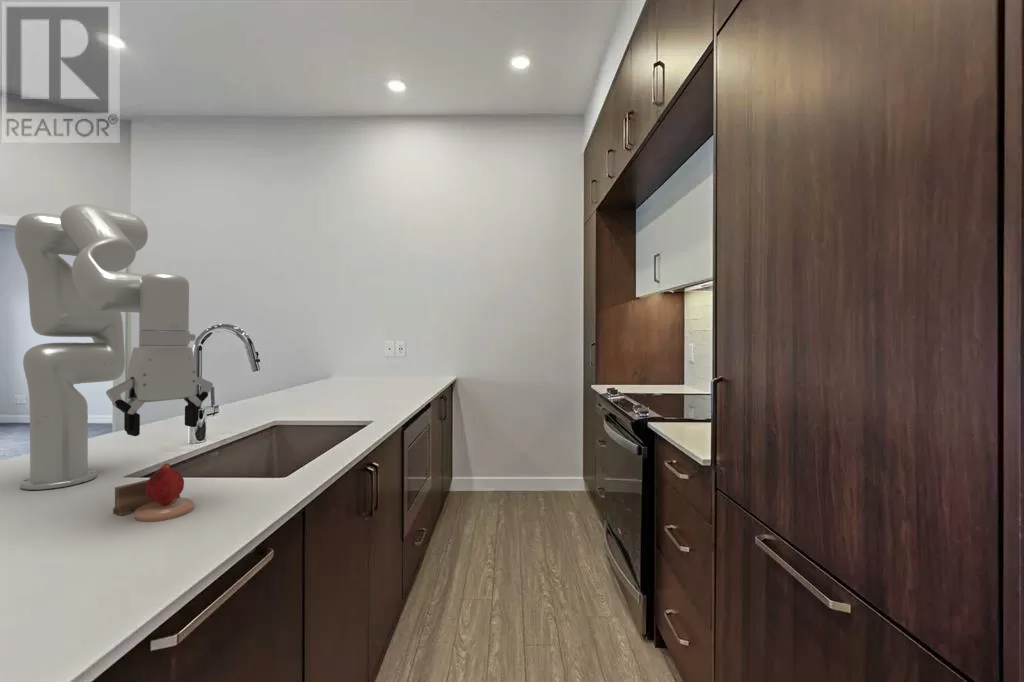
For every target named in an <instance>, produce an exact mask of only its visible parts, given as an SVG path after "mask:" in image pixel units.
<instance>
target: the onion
mask: <svg viewBox="0 0 1024 682" xmlns="http://www.w3.org/2000/svg"><path fill="white" fill-rule="evenodd" d="M170 466H171V463H169V462H165V463H163V464H162V466H161V467H160V468H159V469H158V470H157V471H154V473H152V475H151V476H150V477H149V479H147V480H148V482H147V485H146V494H147V496H148V497H149V498H150V499H151V500H152V501H154V502H156V503H158V504H161V505H164V506H165V505H169V504H170V503H171V502H172V501H173V500H174V499H175V498H176V497H178V496H179V495H180V496H181V494H182V492H183V490H184V487H185V479H184V476H183V475H182V474H181V473H180V472H179V471H177V470H176V469H174V468H172V467H170Z"/></svg>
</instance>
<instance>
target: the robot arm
mask: <svg viewBox="0 0 1024 682" xmlns="http://www.w3.org/2000/svg"><path fill="white" fill-rule="evenodd" d="M14 229H15V230H14V242H15V243H14V245H15V248H16V251H17V254H18V257H19V258H20V261H21V263H22V265H23V267H24V270H25V272H26V276H27V288H28V304H29V317H30V323H31V325H30V326H31V327H32V329H33V331H34V332H35V333H36V334H38V335H40V336H45V337H51V338H52V337H54V338H55V337H56V338H59V337H60V338H68V337H69V338H91V339H92V340H93V342H48V343H41V344H37V345H35V346H31V347H30V348H29V349H28V350H26V352H25V353H24V356H23V361H22V362H23V363H22V365H23V372H24V375H25V378H26V383H27V389H28V398H29V399H28V400H29V466H30V467H29V468H30V469H29V471H30V473H29V476H30V477H27V478H24V479H22V480H21V481H20V483H19V488H21V489H22V490H27V491H28V490H29V491H37V490H39V491H41V490H51V489H58V488H63V487H68V486H69V487H70V486H74V485H79V484H82V482H83V483H85V482H88V481H91V480H94V479H95V478H96V477H97V476H98V472H97V471H96V470H95V469H92V468H91V469H89V467H88V466H89V459H88V458H89V457H88V456H89V455H88V453H89V451H88V450H89V445H88V443H89V437H88V436H89V435H88V434H89V433H88V432H89V431H88V430H89V429H88V428H89V424H88V422H89V421H88V418H89V417H88V411H89V410H88V402H87V401H88V400H87V399H86V397H85V396H84V395H83V394H82V393H81V392H80V391H78V389H77V388H76V387H75V385H80V384H87V383H88V384H90V383H102V382H103V383H104V382H112V381H115V380H117V379H119V378H121V377H122V374H123V373H124V371H125V367H126V366H125V364H126V355H125V353H126V352H125V339H124V325H123V323H124V322H123V316H122V313H139V314H138V315H139V319H138V320H139V321H138V324H139V326H138V327H139V328H138V329H139V330H138V340H139V341H138V347H137V346H136V347H132V350H131V355H130V359H129V364H128V369H127V379H126V380H124V381H123V382H121V383H119V384H117V385H116V386H113V387H111V388H108V389H107V390H106V391H105V394H106V396H107V398H108V399H109V400H110V402H111V404H112V405H113V406H114V407H115V408H117V409H118V410H119V411H121V413H123V414H124V417H123V419H124V423H123V425H124V426H123V427H124V428H123V429H124V432H126V434H127V435H129V436H131V437H138V436H139V435H140V434H141V433H140V432H141V430H140V429H141V423H140V422H141V415H140V414H139V413H138V411H139V410H140V409H141V408H142V406H143V405H144V404H145V403H154V402H155V403H156V402H164V401H172V400H173V401H174V400H184V401H185V402H186V403H187V404H186V405H185V406H184V425H185V426H186V427H191V428H196V427H197V426H198V422H199V418H200V417H199V416H200V415H199V411H200V410H199V407H201V406H202V404H203V402H204V401H205V400H206V399H207V398H208V396H209V393H210V392H211V390H212V389H213V386H214V383H213V382H211V381H209V380H206V379H204V378H203V377H202V378H201V377H199V376H197V367H196V360H195V355H194V352H193V348H192V347H191V346H189V345H190V342H194V341H196V334H193V333H190V332H191V331H190V330H189V329H190V328H189V326H190V325H189V323H190V318H189V315H190V282H189V281H188V279H187V278H186V277H184V276H182V275H176V274H168V273H147V274H143V273H136V272H135V273H134V272H123V271H122V270H125V269H126V268H128V267H130V266H131V264H133V262H134V261H135V259H136V255H137V252H138V251H141V250H142V249H143V248H144V247H145V246H146V243H148V238H149V233H148V232H149V231H148V228H147V225H146V224H145V222H144V220H143V219H142V218H140V217H139V216H138V215H135V214H134V213H131V212H126V211H122V210H118V209H112V208H108V207H107V208H106V207H103V206H97V205H91V204H73V205H71V206H68V207H66V208H65V209H63V211H62V212H61V213H60V215H58V214H50V213H49V214H48V213H27V214H24V215H23V216H21V217H19V219H18V221H17V222H16V224H15V228H14ZM61 255H64V256H65V255H66V256H74V257H75V258H74V260H73V262H72V265H71V264H69V262H68V261H66V260H65V259H64V258H63V257H61ZM197 385H198V386H200V390H199V391H198V392H197ZM124 392H126V398H127V399H128V401H125V400H124V399H123V398H122V396H121V394H122V393H124Z"/></svg>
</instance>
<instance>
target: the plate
mask: <svg viewBox="0 0 1024 682" xmlns="http://www.w3.org/2000/svg"><path fill="white" fill-rule="evenodd" d="M194 509H195V501H194V499H192V498H187V497H180V498H175V499H174V500H173V501H172V502H171V503H170V504H169V505H165V506H164V505H161V504H158V503H156V502H151V503H148V504H145V505H143V506H141V507H139V508H137V509H136V510H135V511H134V519H135V521H137V522H141V523H142V522H143V523H145V522H146V523H149V522H161V521H162V522H163V521H166V520H172V519H176V518H179V517H182V516H184V515H187V514H189V513H191V512H192V511H193V510H194Z"/></svg>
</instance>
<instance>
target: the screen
mask: <svg viewBox="0 0 1024 682" xmlns="http://www.w3.org/2000/svg"><path fill="white" fill-rule="evenodd" d="M148 480H149V479H146V480H145V479H144V480H142V481H137V482H132V483H128V484H124V485H119V486H116V487H114V507H113V508H112V511H113V512H112V514H114V515H117V516H119V517H124V516H126V515H131V514H132V513H135V510H136V509H137V508H139V507H141V506H143V505H145V504H148V503H151V502H154V501H152V500H151V499H150V498H149V497H148V496H147V494H146V485H147V482H148ZM176 498H181V494H180V495H179V496H178V497H176Z"/></svg>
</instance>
